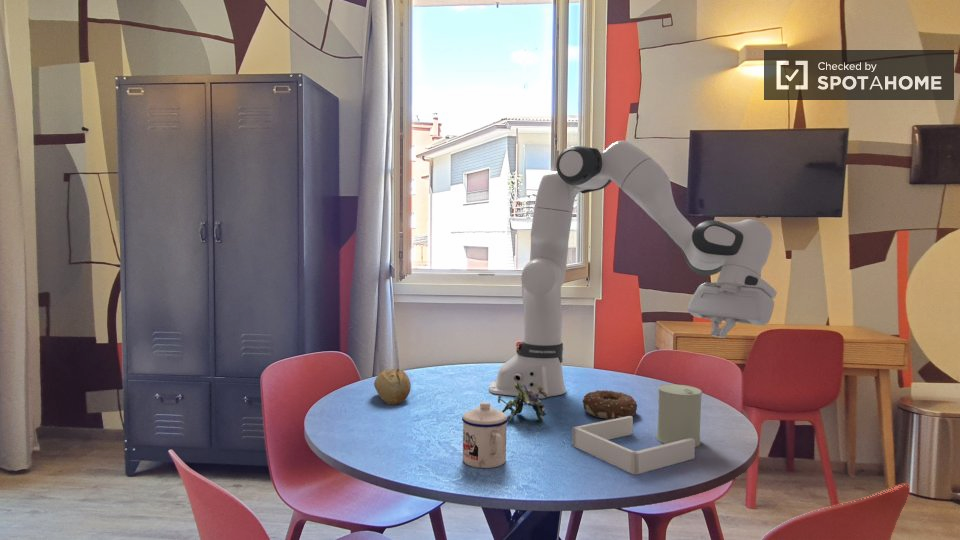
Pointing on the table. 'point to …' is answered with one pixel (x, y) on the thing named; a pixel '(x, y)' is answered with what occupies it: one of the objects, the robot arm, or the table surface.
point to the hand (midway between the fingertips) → (717, 336)
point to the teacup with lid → (484, 437)
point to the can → (679, 413)
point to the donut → (609, 404)
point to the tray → (598, 445)
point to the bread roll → (393, 386)
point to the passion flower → (526, 401)
